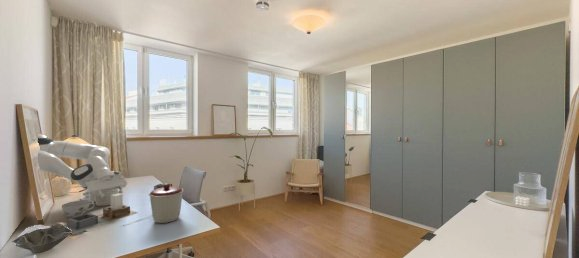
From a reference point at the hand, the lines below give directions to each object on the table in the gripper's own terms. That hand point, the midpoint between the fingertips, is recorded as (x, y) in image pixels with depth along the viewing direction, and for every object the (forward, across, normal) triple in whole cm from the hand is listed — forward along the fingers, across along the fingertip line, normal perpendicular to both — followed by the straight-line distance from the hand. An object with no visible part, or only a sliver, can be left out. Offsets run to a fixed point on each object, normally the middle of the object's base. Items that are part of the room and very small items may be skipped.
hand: (112, 195), depth 145 cm
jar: (-12, +11, +30) cm, 34 cm away
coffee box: (+21, +21, -4) cm, 30 cm away
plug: (+10, +1, +6) cm, 12 cm away
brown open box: (+11, +1, +7) cm, 13 cm away
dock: (+11, -16, +7) cm, 21 cm away
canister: (+34, +10, -16) cm, 39 cm away
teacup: (-4, -10, +22) cm, 24 cm away
